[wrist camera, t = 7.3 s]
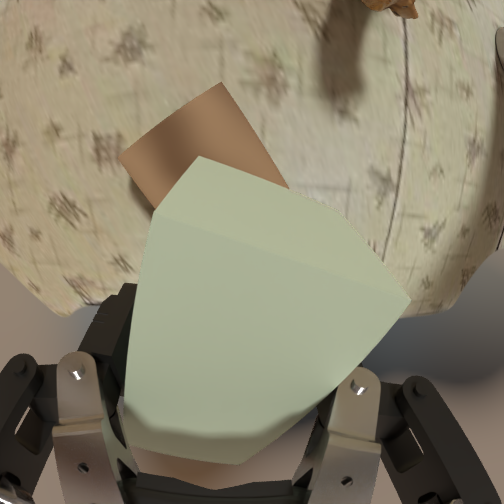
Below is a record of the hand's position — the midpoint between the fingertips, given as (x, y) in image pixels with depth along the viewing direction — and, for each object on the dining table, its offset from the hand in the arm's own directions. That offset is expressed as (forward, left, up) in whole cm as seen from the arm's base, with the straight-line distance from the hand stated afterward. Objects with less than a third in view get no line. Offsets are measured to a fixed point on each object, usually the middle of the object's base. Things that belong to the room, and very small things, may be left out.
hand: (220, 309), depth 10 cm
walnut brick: (0, 0, -15) cm, 15 cm away
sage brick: (0, 0, -1) cm, 1 cm away
